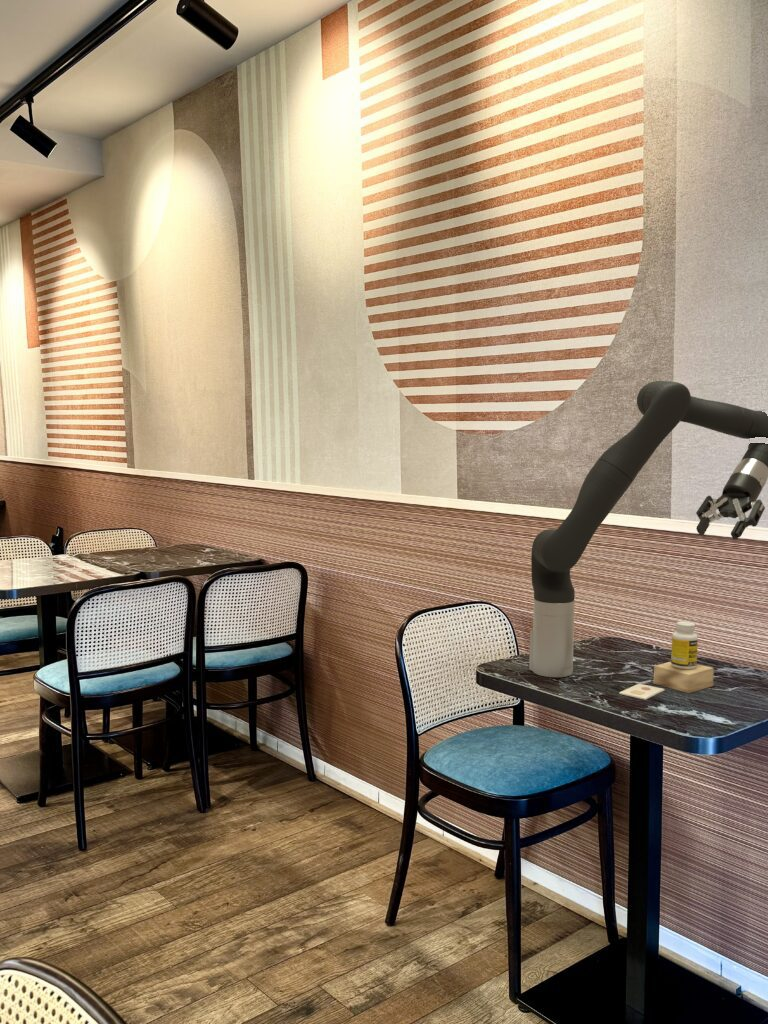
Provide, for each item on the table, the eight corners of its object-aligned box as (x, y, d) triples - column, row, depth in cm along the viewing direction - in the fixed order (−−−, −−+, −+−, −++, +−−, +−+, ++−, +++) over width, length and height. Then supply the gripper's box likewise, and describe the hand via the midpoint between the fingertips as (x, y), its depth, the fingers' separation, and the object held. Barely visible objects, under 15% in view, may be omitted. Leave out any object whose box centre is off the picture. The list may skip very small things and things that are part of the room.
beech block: (652, 683, 201) (653, 665, 200) (677, 676, 206) (678, 659, 206) (688, 693, 193) (689, 675, 193) (713, 685, 199) (714, 668, 198)
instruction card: (619, 693, 193) (619, 692, 193) (638, 684, 199) (639, 683, 199) (645, 699, 189) (645, 697, 189) (664, 690, 195) (664, 688, 195)
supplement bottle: (690, 671, 196) (692, 627, 195) (666, 666, 199) (668, 623, 198) (700, 666, 200) (702, 623, 199) (676, 662, 203) (678, 619, 202)
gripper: (712, 470, 212) (682, 521, 207) (769, 472, 201) (739, 527, 195) (724, 491, 216) (695, 542, 210) (781, 495, 205) (751, 549, 199)
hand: (716, 535), depth 203 cm, fingers open, 8 cm apart
